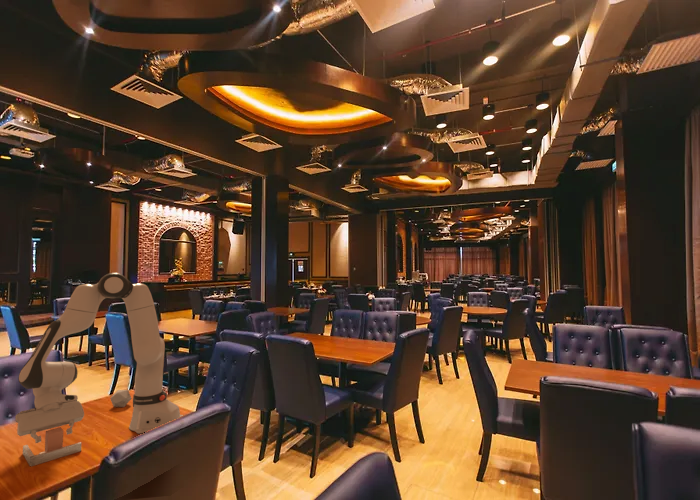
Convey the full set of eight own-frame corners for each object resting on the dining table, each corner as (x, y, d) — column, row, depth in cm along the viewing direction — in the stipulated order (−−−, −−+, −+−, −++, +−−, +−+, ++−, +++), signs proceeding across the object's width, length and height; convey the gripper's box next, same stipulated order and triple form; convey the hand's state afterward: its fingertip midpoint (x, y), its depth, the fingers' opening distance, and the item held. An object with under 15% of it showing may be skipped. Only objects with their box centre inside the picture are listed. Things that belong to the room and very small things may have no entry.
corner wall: (22, 453, 140) (23, 445, 140) (71, 440, 151) (71, 432, 151) (30, 466, 131) (30, 457, 131) (81, 451, 142) (81, 442, 142)
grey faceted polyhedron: (115, 411, 183) (129, 394, 186) (103, 402, 185) (117, 384, 188) (124, 412, 191) (138, 394, 194) (112, 402, 192) (126, 385, 196)
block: (59, 448, 144) (60, 427, 144) (62, 452, 141) (63, 430, 141) (44, 452, 140) (45, 430, 141) (47, 456, 137) (48, 434, 138)
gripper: (16, 408, 138) (19, 442, 131) (81, 394, 154) (88, 424, 147) (13, 417, 141) (16, 451, 134) (78, 402, 156) (84, 433, 149)
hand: (54, 437), depth 140 cm, fingers open, 8 cm apart
